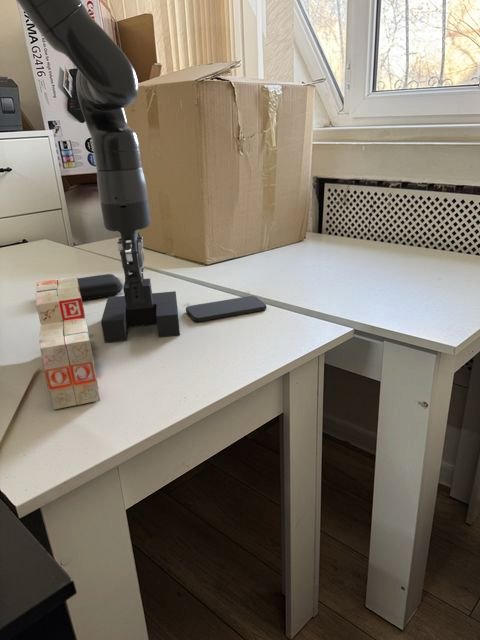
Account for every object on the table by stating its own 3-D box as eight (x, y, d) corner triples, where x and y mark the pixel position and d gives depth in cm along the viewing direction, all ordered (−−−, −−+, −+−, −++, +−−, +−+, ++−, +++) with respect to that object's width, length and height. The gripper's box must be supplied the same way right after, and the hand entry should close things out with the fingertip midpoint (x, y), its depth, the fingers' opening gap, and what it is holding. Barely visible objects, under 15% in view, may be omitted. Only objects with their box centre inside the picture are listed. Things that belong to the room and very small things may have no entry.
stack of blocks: (101, 401, 70) (85, 318, 65) (53, 411, 68) (32, 326, 63) (90, 343, 88) (77, 275, 83) (52, 350, 86) (36, 280, 81)
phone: (268, 306, 100) (195, 318, 94) (268, 310, 100) (195, 322, 95) (253, 295, 106) (184, 306, 100) (253, 298, 106) (184, 310, 101)
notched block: (104, 342, 88) (100, 321, 86) (111, 316, 100) (107, 297, 98) (179, 335, 90) (177, 314, 88) (177, 310, 102) (175, 291, 100)
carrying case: (116, 282, 120) (50, 292, 115) (114, 269, 119) (48, 279, 114) (125, 295, 111) (54, 306, 106) (123, 281, 110) (51, 292, 105)
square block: (126, 310, 88) (123, 288, 86) (128, 301, 91) (124, 280, 90) (152, 307, 88) (149, 285, 86) (152, 299, 92) (150, 278, 90)
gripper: (104, 193, 88) (120, 287, 95) (94, 206, 75) (113, 314, 82) (148, 190, 89) (160, 284, 96) (146, 203, 76) (160, 310, 83)
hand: (138, 297), depth 89 cm, fingers closed on square block, 4 cm apart
